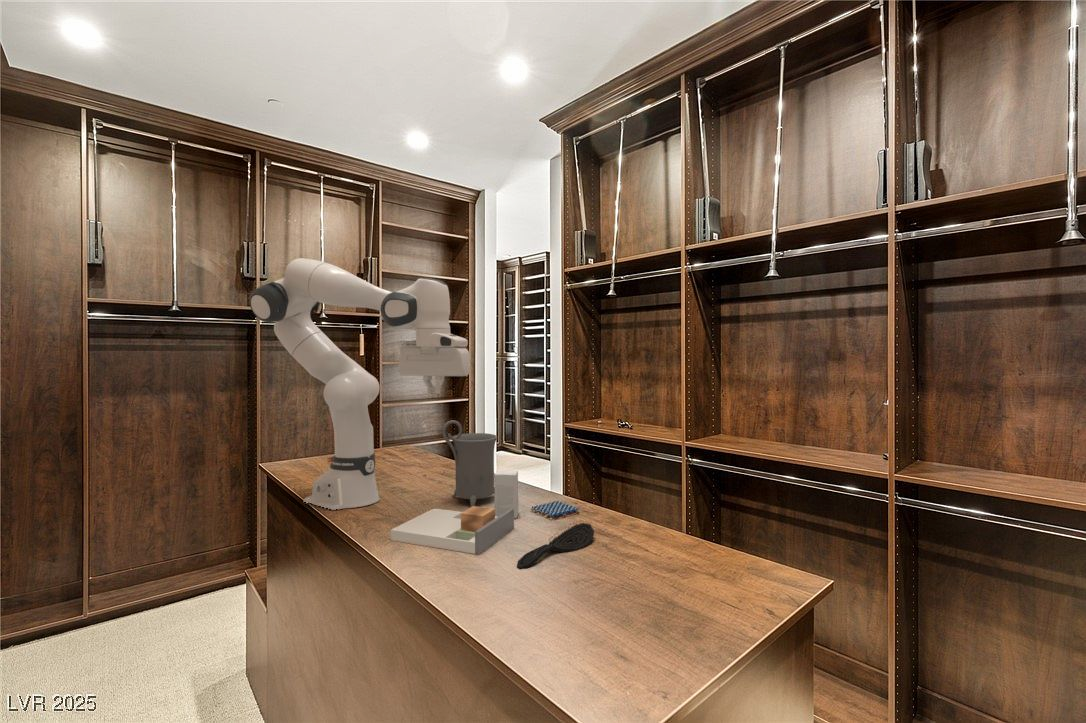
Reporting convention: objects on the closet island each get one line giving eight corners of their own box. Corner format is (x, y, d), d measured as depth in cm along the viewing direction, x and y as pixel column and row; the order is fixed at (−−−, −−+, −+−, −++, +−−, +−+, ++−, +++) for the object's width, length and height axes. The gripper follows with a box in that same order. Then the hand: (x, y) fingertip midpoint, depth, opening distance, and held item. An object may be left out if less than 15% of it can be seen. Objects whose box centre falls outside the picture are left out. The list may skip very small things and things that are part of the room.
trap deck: (390, 540, 121) (390, 519, 121) (434, 517, 138) (433, 499, 138) (479, 554, 112) (478, 532, 112) (514, 528, 129) (513, 508, 129)
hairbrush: (503, 552, 108) (573, 516, 127) (504, 569, 108) (574, 531, 127) (533, 562, 102) (601, 523, 121) (533, 580, 102) (602, 538, 122)
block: (460, 530, 121) (460, 513, 121) (473, 522, 126) (473, 506, 126) (483, 533, 119) (483, 516, 119) (495, 525, 124) (494, 508, 124)
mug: (489, 491, 164) (488, 414, 164) (511, 502, 152) (510, 418, 151) (433, 500, 154) (432, 418, 154) (452, 513, 142) (451, 423, 141)
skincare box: (518, 514, 141) (518, 471, 140) (516, 519, 136) (516, 474, 136) (497, 513, 141) (496, 470, 141) (494, 518, 137) (493, 474, 137)
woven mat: (557, 506, 149) (557, 499, 149) (581, 515, 141) (581, 508, 141) (528, 513, 143) (528, 506, 143) (551, 523, 135) (551, 515, 135)
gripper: (392, 340, 133) (393, 393, 134) (460, 339, 126) (460, 395, 126) (407, 341, 139) (408, 391, 139) (473, 340, 132) (473, 393, 132)
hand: (433, 393), depth 133 cm, fingers closed
